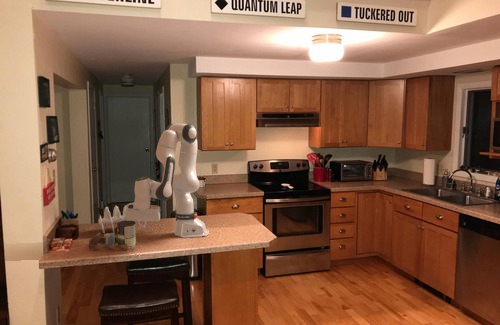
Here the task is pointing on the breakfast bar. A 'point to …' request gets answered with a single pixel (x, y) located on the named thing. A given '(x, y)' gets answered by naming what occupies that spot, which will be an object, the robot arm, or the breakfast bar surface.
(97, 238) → the brown tray
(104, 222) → the white spiky piece
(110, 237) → the pusher
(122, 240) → the coffee can
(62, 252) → the breakfast bar surface
